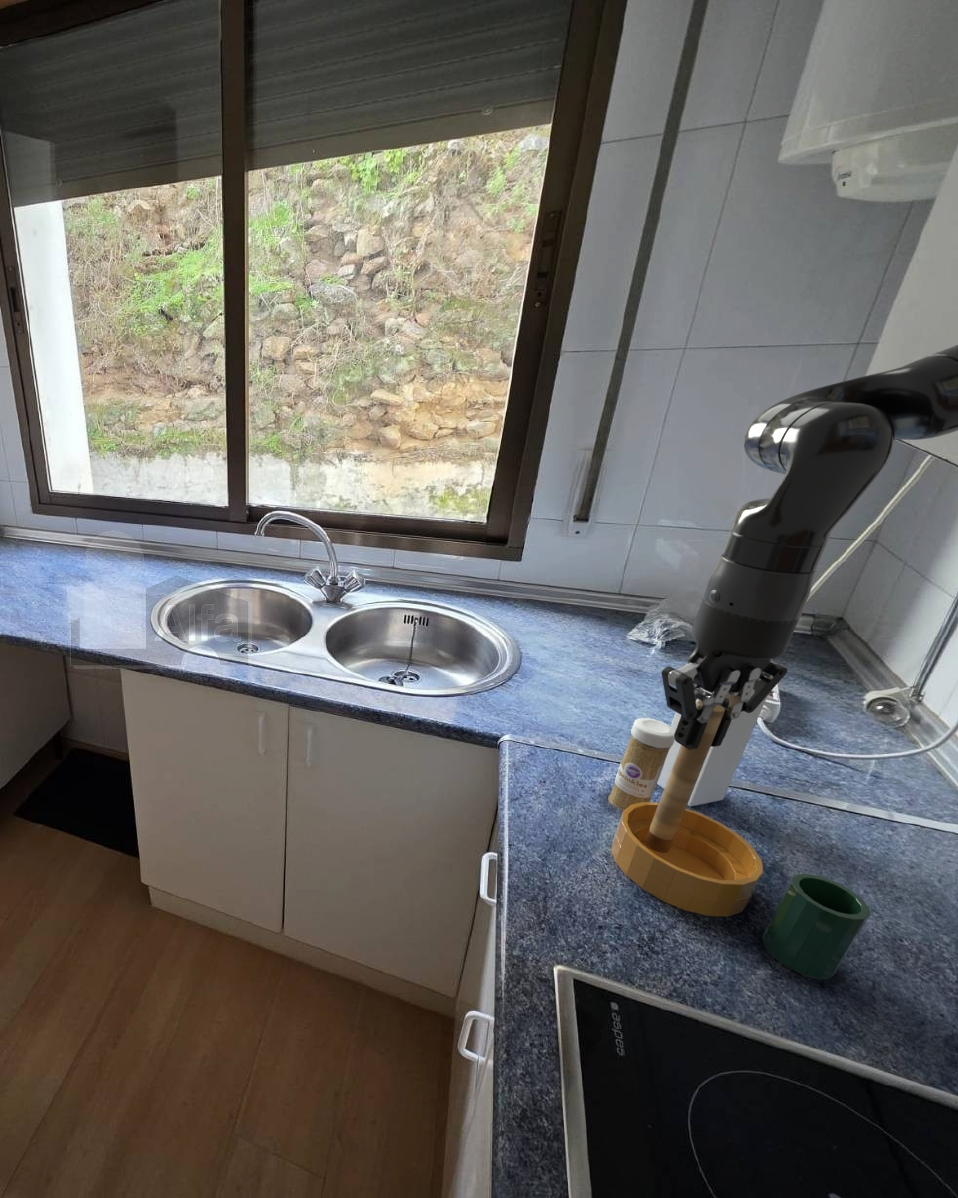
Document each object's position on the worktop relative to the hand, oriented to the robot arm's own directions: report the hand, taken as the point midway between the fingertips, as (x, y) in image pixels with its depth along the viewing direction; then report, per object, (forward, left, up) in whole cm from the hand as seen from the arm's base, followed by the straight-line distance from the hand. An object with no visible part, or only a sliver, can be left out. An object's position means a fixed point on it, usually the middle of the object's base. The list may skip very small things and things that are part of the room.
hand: (696, 743), depth 71 cm
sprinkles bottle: (-1, -12, -19) cm, 22 cm away
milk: (-10, -19, -19) cm, 28 cm away
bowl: (-3, 0, -19) cm, 19 cm away
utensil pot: (-11, +9, -19) cm, 23 cm away
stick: (0, 0, -15) cm, 15 cm away
